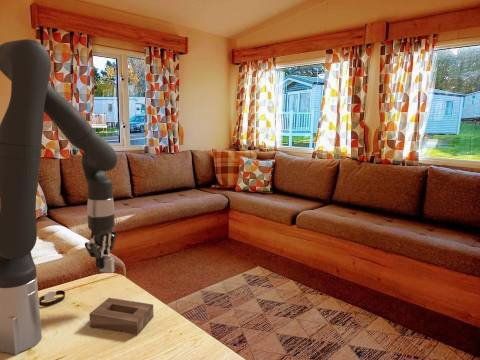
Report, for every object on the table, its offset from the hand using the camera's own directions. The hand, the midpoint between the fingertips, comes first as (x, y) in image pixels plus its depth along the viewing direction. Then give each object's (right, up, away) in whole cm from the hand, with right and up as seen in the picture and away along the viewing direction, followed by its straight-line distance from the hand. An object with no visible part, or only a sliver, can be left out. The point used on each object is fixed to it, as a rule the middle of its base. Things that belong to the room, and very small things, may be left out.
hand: (102, 266), depth 109 cm
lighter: (0, -1, 0) cm, 2 cm away
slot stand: (+9, -14, -8) cm, 18 cm away
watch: (-16, -12, +2) cm, 21 cm away
